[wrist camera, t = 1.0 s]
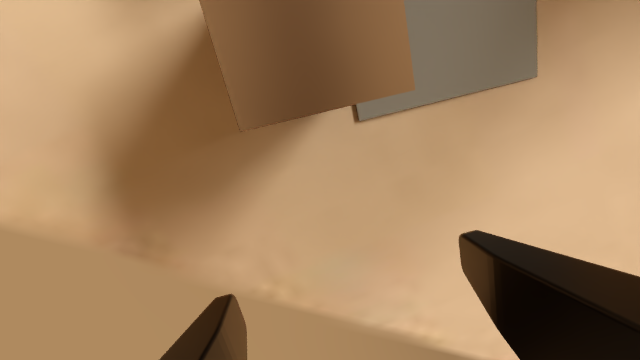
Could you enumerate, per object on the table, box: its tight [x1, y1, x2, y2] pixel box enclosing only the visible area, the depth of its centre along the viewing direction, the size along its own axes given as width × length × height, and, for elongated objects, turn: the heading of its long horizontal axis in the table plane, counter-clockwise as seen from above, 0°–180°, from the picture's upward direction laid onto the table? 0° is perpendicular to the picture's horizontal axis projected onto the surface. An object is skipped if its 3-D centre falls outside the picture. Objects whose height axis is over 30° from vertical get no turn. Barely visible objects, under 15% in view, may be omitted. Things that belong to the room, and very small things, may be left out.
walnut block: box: [199, 0, 415, 132], centre depth 13 cm, size 5×5×9 cm
